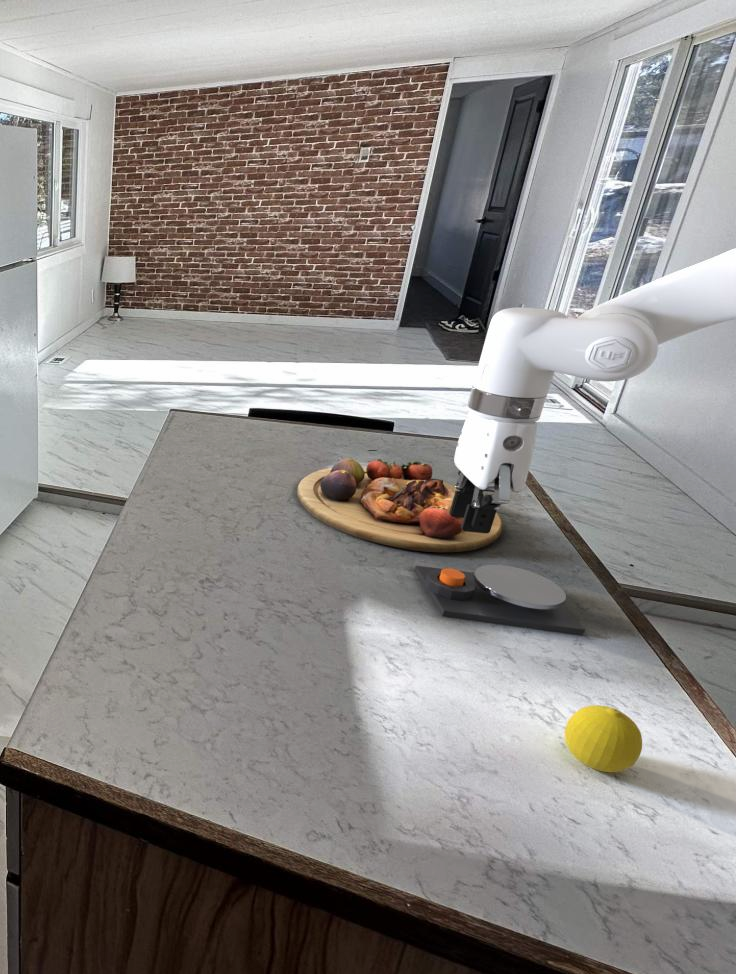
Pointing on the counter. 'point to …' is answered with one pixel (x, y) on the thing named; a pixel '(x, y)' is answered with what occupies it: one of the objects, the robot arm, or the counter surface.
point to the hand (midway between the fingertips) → (468, 522)
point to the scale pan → (519, 587)
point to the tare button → (452, 577)
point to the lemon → (603, 738)
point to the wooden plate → (391, 506)
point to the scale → (491, 605)
